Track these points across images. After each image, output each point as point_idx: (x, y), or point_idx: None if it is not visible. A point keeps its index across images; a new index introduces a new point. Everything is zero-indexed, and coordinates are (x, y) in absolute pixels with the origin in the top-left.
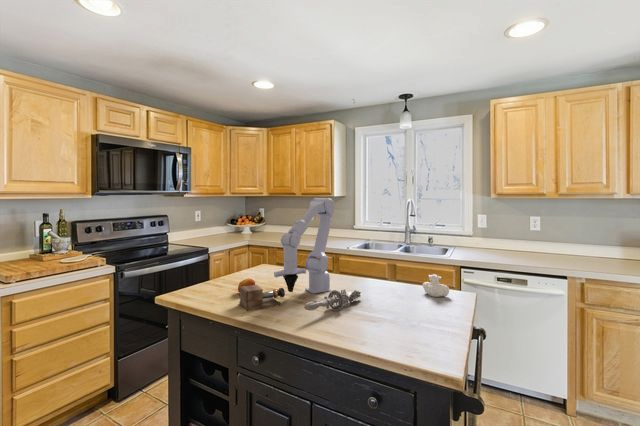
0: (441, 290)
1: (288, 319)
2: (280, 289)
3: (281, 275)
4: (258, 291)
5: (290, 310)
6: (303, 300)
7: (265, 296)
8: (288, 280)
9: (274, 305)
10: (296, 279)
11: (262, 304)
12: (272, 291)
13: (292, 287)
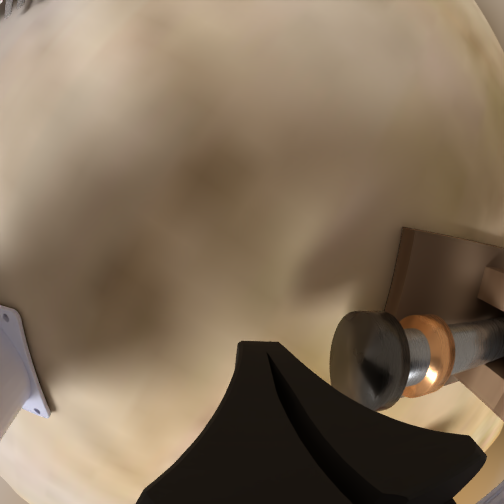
0: None
1: (436, 13)
2: (400, 378)
3: (495, 500)
4: None
5: (390, 80)
6: (153, 214)
7: (484, 322)
8: (431, 432)
9: (439, 234)
10: (194, 464)
11: (488, 267)
12: (456, 360)
13: (262, 367)
